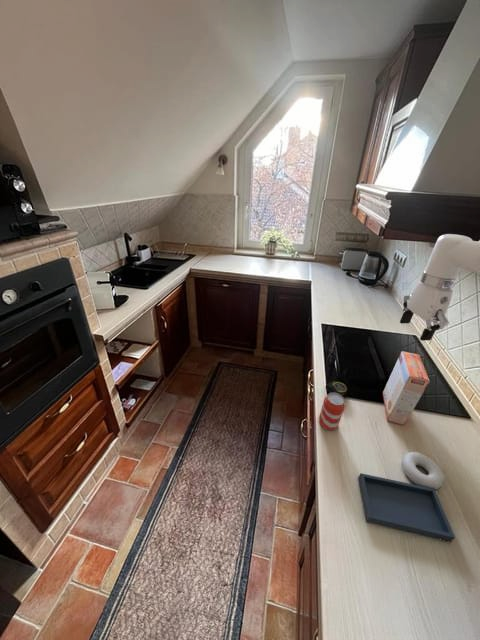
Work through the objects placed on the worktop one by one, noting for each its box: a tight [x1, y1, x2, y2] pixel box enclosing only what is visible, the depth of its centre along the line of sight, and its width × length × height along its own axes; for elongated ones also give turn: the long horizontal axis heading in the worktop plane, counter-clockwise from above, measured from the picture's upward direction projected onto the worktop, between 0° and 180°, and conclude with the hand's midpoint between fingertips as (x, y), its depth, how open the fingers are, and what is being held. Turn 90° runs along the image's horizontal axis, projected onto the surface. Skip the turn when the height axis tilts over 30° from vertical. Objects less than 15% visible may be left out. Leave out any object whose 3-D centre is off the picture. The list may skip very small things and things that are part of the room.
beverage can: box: [318, 392, 346, 431], centre depth 83 cm, size 6×6×12 cm
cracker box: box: [382, 350, 430, 426], centre depth 87 cm, size 14×6×21 cm, turn 159°
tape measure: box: [325, 380, 348, 399], centre depth 97 cm, size 7×7×4 cm
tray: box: [357, 472, 456, 543], centre depth 64 cm, size 19×11×2 cm, turn 78°
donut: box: [401, 451, 444, 490], centre depth 72 cm, size 10×4×10 cm
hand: (414, 331), depth 80 cm, fingers open, 9 cm apart
